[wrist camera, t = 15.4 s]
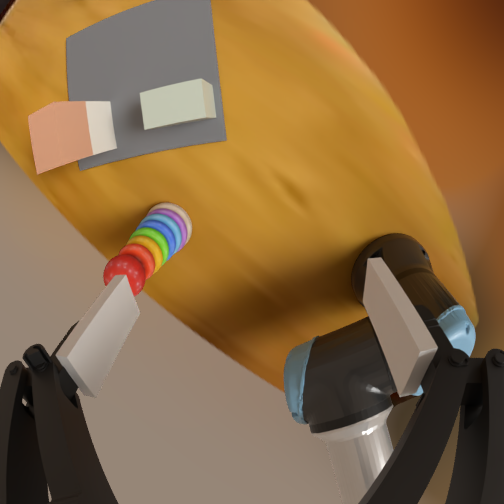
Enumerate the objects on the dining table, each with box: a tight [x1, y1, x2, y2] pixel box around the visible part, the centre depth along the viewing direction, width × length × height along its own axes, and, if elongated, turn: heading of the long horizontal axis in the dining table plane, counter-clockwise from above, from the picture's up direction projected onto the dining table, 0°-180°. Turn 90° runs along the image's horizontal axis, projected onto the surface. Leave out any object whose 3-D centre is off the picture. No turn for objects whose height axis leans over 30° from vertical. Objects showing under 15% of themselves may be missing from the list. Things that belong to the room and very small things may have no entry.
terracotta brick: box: [28, 101, 93, 175], centre depth 27 cm, size 8×5×7 cm, turn 6°
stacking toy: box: [103, 203, 192, 296], centre depth 36 cm, size 8×8×19 cm
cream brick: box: [70, 101, 117, 163], centre depth 34 cm, size 8×5×7 cm, turn 6°
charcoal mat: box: [66, 0, 227, 171], centre depth 33 cm, size 26×26×1 cm
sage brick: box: [140, 78, 216, 130], centre depth 32 cm, size 8×5×7 cm, turn 96°
